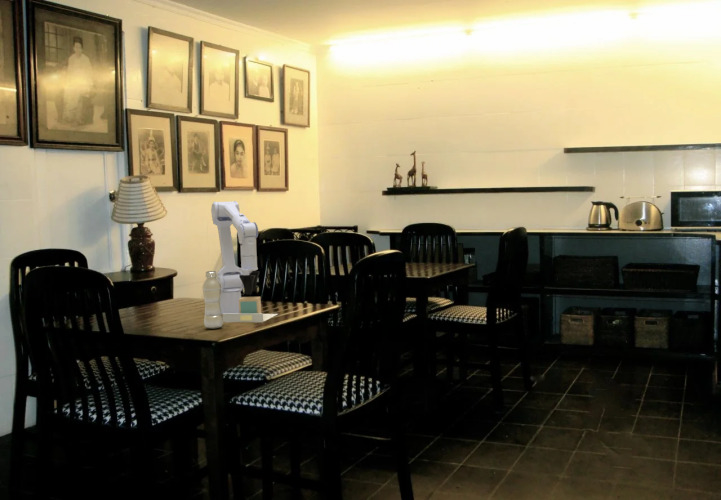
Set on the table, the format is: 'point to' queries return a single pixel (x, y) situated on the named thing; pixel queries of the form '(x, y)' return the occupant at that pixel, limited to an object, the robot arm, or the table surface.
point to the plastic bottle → (212, 301)
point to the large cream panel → (246, 317)
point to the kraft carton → (250, 305)
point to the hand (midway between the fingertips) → (250, 292)
